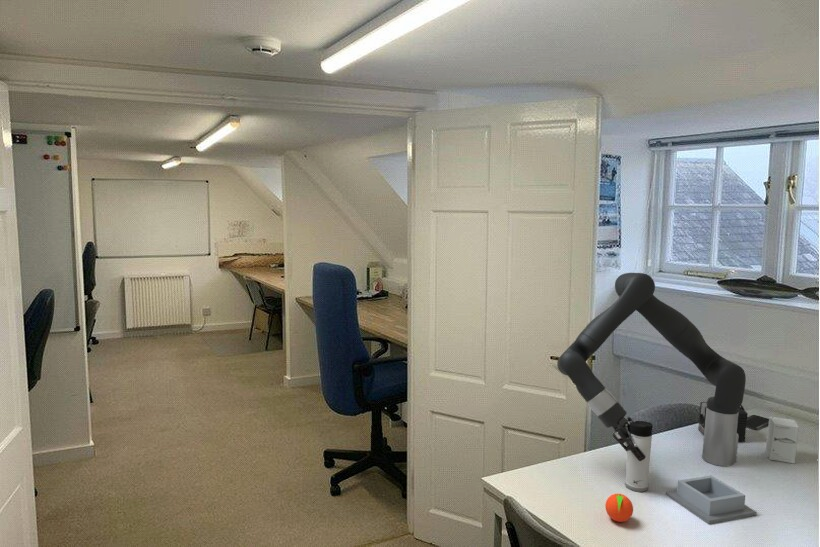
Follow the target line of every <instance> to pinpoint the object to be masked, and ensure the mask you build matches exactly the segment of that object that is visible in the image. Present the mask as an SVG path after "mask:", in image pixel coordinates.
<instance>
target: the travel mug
mask: <svg viewBox="0 0 820 547" xmlns="http://www.w3.org/2000/svg"><path fill="white" fill-rule="evenodd" d="M629 428H630V432H631V435H632V436H633V441H634V442H635V443H636V445H637V446H638V448H639V449H640V450H641V451H642V452H643V454H644V455H645V456H646V457H645V459H644V460H642V461H639V460H638V459H637V458H636V457H635V455H634V454H633V453H632V452H631V451H629V450H628V451H626V453H627V455H626V468H625V481H624V485H625V487H626V488H627V489H628V490H630V491H633V492H639V493H641V492H642V493H643V492H646V491H647V490H648V488H649V474H650V464H651V454H652V452H651V451H652V450H651V449H652V439H653V437H652V436H653V433H652V432H653V428H654V427H653V423H652V422H649V421H644V420H636V421H633V422H630V427H629ZM630 442H631V441H630Z"/></svg>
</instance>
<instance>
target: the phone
mask: <svg viewBox="0 0 820 547" xmlns="http://www.w3.org/2000/svg"><path fill="white" fill-rule="evenodd" d="M746 425H747V426H746V429H749V430H752V431H761V430H762V429H764V428H766V427H768V425H769V418H767V417H764V416H760V415H756V414H752V415H749V416H747V423H746Z"/></svg>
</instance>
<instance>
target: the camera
mask: <svg viewBox="0 0 820 547" xmlns="http://www.w3.org/2000/svg"><path fill="white" fill-rule="evenodd" d="M699 404H700V405H699V414H698V415H699V417H698V427H697V430H698V431H699V432H700V433H701V434H702V435H703V436H704V430H705V419H706V407H707V401H701V402H700V403H699ZM748 415H749V413H748V412H747V411H746V410H745V408H744V406H743V404H741V406H740V408H739V413H738V424H737V433H738V435H739V438H738V443H745V442H746V433H747V432H746V431H747V428H746V426H747V425H746V423H747V417H749V416H748Z"/></svg>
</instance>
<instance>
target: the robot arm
mask: <svg viewBox="0 0 820 547" xmlns="http://www.w3.org/2000/svg"><path fill="white" fill-rule="evenodd" d="M655 283H656V282H655V281H654V279H653V278H652V277H651V276H650V275H649V274H646V273H642V272H626V273H622V274H620V275H619V276H617V278H616V279H615V282H614V289H615V292H616V294H617V296H618V299H617V300H616V301H615V302H614V303H612V304H611V305H610V306H609V307H608V308H606V309H604V311H603V312H600V314H598V315H597V316H596V317H594V318H593V319H592V320H590V322H589V323H588V324H587V325H586V326H585V327H584V329H582V330H581V332H580V333H579V335H577V337H576V338H575V340H574V341H573V343H571V345H569V346H568V348H566V349H565V351H564V352H563V353H562V354H561V355H560V356H559V357H558V359H557V362H556V364H557V365H556V366H557V368H558V371H559V372H560V373H561V374H562V375H565V376H567V377H568V378H569V379H570V381H571V382H572V383H573V384H574V385H575V388H576V390H577V391H578V393H579V394H580V396H581V397H582V399H583V400H585V402H586V403H587V404H588V406H589V407H590V409H591V411H592V412H593V413H594V414H595V415H596V417H597V419H599V421H600V422H601V423H602V424H603V425H604V427H606V429H607V428H613V430H614V433H613V434H612V437H613V438H614V439H615V440H616V441H617V442H618V443H619V445H620V446H621V447H622V448H623V449H624V450H625V451H626V452H627V451H628V450H629V451H631V452H632V453H633V454H634V455H635V457H636V458H637V459H638V460H639V461H642V460H644V459H645V457H646V456H645V455H644V454H643V452H642V451H641V450H640V449H639V448H638V446H637V445H636V443H635V442H634V441H633V436H632V435H631V432H630V428H629V427H630V422H634V420H633V419H632V418H631V417H630V416H628V417H626V415H627V414H628V413H627V411H626V409H625V408H624V407H623V406H622V405H621V403H620V402H619V401H618V399H616V397H615V396H614V395H613V394H612V393H611V392H610V391H609V390H608V389H607V388H606V387H605V385H603V383H602V382H601V381H600V380H599V378H597V376H596V375H595V373H594V372H593V371H592V369H591V368H590V366H589V365H588V363H587V361H588V360H589V358H590V357H591V356H592V355H593V354H595V353H596V352H597V351H598V350H599V349H600V348H601V346H602V345H603V344H604V343H605V342H606V341H607V340H608V338H609V337H610V336H611V335H612V334H613V333H614V332H615V331H616V329H617V328H618V327H619V326H620V325H621V324H623V323H624V322H625V321H626V320H627V319H628V318H629V317H630V316H631V315H632V314H634V313H635V312H638V313H639V314H640V315H641V316H642V317H644V319H645V320H646V321H647V322H648V323H649V324H650V325H651V326H652V327H653V328H654V329H655V330H656V331H657V332H658V333H659V334H660V335H661V336H662V337H663V338H664V339H665V340H666V341H667V342H668V343H669V344H670V345H671V346H672V347H673V348H674V349H676V350H677V351H678V352H679V353H680V354H682V355H683V356H684V357H686V358H687V359H688V360H690V361H691V362H692V363H693V364H694V366H695V367H696V368H697V369H698V370H699V371H700V372H701V374H702V375H703V376H704V377H705V378H706V380H707V381H708V382H709V383H710V384H712V385H713V386H714V387H715V389H714V390H715V391H714V396H710V397H709V398H707V401H706V402H707V407H706V419H705V430H704V435H703V440H702V442H703V443H702V453H701V454H702V455H701V458H702V459H703V460H704V461H705V462H707V463H709V464H711V465H715V466H720V467H731V466H733V465H734V464H735V463H737V458H738V445H739V442H738V438H739V435H738V433H737V424H738V413H739V408H740V407H741V405H743V401H744V395H745V388H746V380H747V379H746V378H747V377H746V372H745V370H744V368H742V367H741V365H739V364H737V363H735V362H733V361H731V360H728V359H727V358H724V357H723V356H721V355H720V354H719V353H718V352H716V351H715V350H714V349H712V347H711V346H709V345H708V343H707V341H705V338H704V337H703V334H702V333H701V331H700V330H699V329H698V327H697V326H696V325H695V324H694V323H693V322H691V321H690V319H689V318H688V317H687V316H685V315H684V314H682V313H681V312H679V311H678V310H677V309H675V308H673V307H672V306H670V305H668V304H667V303H665V302H663V301H661V300H660V299H659V298H658V297H657V296H655V295H654V294H655V288H656V284H655ZM625 417H626V418H625ZM630 441H631V442H630Z"/></svg>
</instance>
